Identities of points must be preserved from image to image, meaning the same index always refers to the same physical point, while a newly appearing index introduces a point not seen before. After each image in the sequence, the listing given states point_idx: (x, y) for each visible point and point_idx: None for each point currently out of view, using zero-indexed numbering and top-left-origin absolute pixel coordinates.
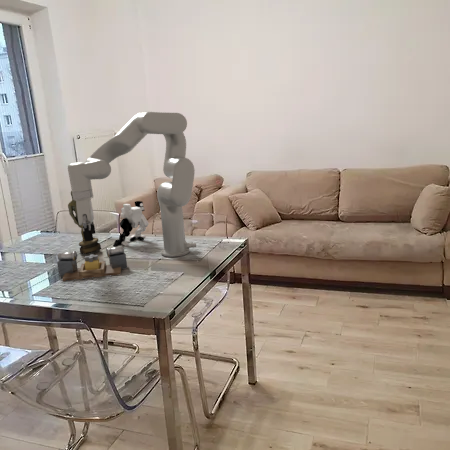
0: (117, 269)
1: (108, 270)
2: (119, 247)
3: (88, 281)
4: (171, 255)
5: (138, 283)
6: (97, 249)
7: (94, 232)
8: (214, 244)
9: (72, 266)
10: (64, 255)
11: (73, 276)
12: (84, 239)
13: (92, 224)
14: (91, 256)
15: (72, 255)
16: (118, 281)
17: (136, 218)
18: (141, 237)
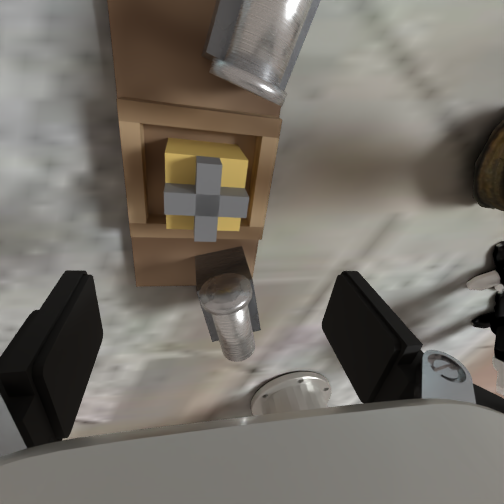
0: (174, 275)
1: (174, 242)
2: (231, 349)
3: (67, 147)
4: (255, 397)
5: (8, 337)
6: (479, 194)
7: (325, 329)
8: None
9: (205, 55)
10: None
11: (130, 56)
12: (60, 280)
13: (375, 398)
14: (201, 207)
15: (215, 67)
16: (44, 276)
17: None
18: (487, 325)
